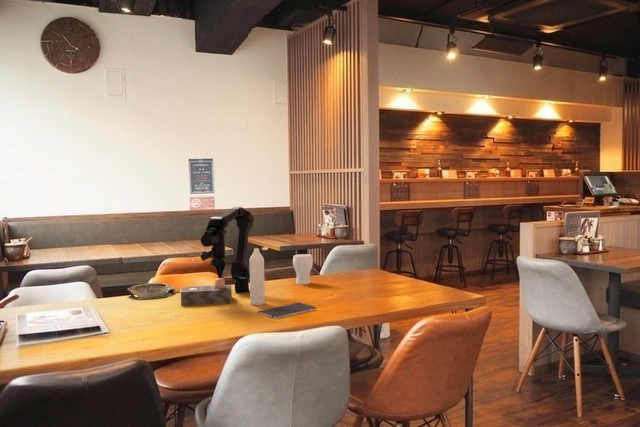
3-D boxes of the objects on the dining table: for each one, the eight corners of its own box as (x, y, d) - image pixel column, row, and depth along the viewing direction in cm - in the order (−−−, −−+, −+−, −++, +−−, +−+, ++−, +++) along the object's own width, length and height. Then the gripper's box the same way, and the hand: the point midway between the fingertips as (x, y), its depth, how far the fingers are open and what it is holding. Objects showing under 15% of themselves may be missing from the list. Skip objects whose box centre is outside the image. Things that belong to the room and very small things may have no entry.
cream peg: (199, 300, 247) (198, 287, 246) (198, 302, 242) (197, 289, 242) (189, 300, 246) (189, 288, 246) (188, 302, 242) (188, 290, 241)
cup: (290, 284, 280) (289, 256, 279) (297, 281, 290) (296, 253, 289) (309, 285, 277) (309, 257, 276) (315, 281, 287) (315, 254, 286)
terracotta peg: (225, 290, 248) (224, 278, 248) (224, 292, 244) (224, 279, 243) (215, 290, 248) (215, 278, 247) (215, 292, 243) (214, 280, 243)
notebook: (298, 305, 235) (258, 314, 221) (298, 302, 235) (258, 310, 221) (316, 310, 225) (276, 320, 212) (316, 307, 225) (276, 316, 211)
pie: (117, 302, 247) (117, 292, 247) (123, 292, 273) (122, 282, 273) (180, 298, 254) (179, 288, 254) (179, 288, 281) (179, 278, 280)
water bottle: (254, 306, 233) (252, 249, 232) (248, 303, 239) (246, 248, 237) (272, 303, 238) (270, 248, 236) (265, 300, 244) (264, 246, 242)
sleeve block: (231, 297, 253) (231, 284, 252) (231, 302, 241) (230, 289, 240) (184, 299, 250) (183, 286, 249) (181, 305, 238) (180, 292, 237)
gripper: (202, 242, 252) (203, 274, 253) (199, 247, 234) (200, 282, 235) (226, 241, 254) (227, 273, 255) (224, 246, 235) (225, 281, 237)
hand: (219, 277), depth 245 cm, fingers closed
